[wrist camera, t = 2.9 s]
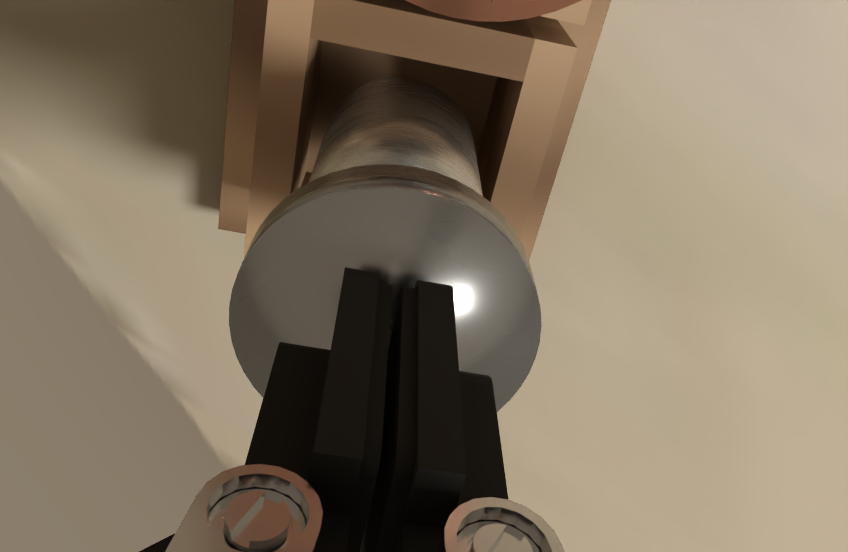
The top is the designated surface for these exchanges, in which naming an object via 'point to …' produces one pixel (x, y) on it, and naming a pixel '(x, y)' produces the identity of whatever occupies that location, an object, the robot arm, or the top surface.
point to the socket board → (412, 58)
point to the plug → (390, 238)
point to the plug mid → (493, 8)
